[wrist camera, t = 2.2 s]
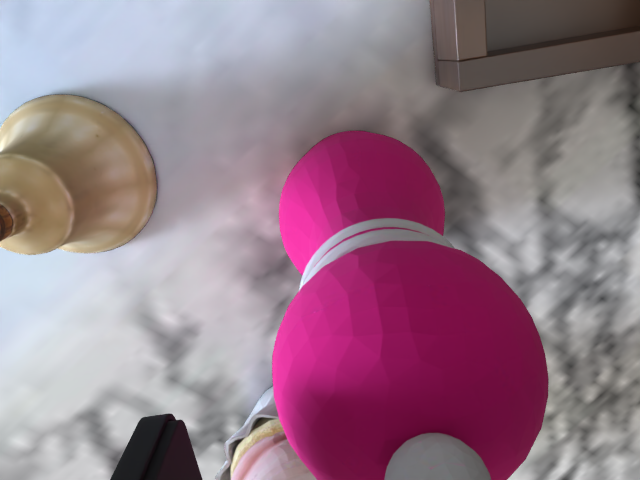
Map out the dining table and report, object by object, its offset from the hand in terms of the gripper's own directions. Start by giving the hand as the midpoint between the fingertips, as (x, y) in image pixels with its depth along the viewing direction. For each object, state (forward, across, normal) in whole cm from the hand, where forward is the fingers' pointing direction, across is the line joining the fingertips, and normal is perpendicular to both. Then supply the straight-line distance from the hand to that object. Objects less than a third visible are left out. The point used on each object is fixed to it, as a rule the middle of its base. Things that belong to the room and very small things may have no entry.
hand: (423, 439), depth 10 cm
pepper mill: (+18, 0, -1) cm, 18 cm away
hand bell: (+18, +14, -4) cm, 23 cm away
